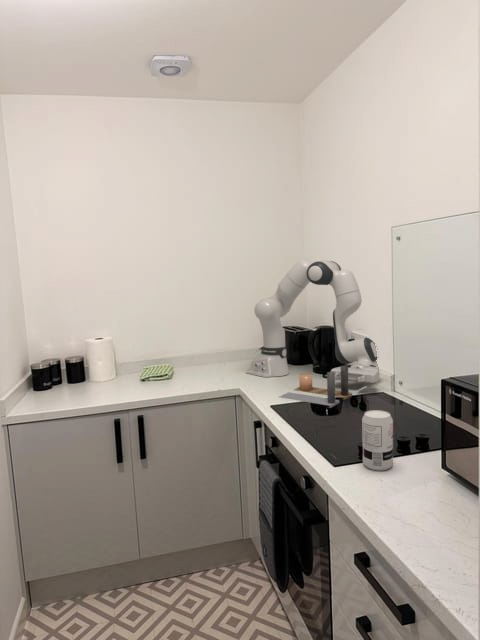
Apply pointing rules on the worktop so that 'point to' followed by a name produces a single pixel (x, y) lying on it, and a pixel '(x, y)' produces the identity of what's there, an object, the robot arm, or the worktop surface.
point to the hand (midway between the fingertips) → (346, 378)
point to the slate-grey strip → (318, 400)
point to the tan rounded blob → (305, 382)
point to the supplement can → (377, 440)
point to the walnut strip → (342, 393)
